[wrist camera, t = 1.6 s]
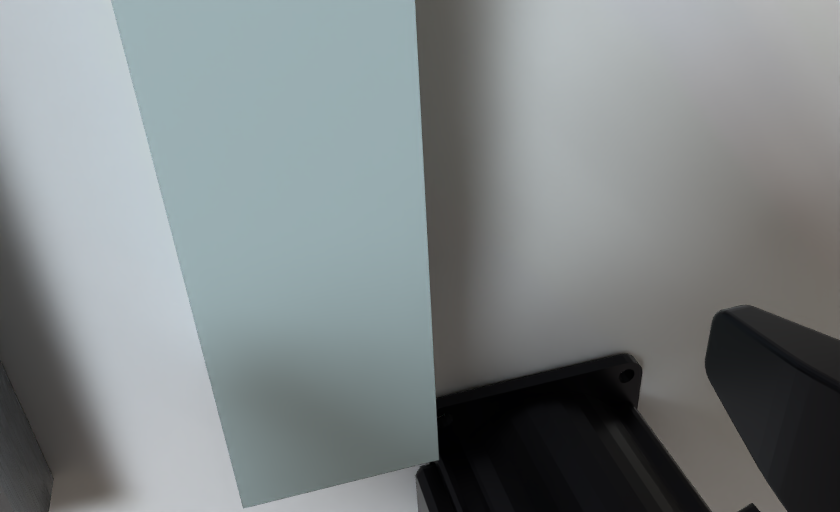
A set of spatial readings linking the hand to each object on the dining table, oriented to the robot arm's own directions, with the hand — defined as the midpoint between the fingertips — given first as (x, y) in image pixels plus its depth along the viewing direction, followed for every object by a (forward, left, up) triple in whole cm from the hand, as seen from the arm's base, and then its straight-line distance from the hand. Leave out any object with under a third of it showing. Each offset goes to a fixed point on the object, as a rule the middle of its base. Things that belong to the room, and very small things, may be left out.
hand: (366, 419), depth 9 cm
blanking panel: (0, 0, -9) cm, 9 cm away
